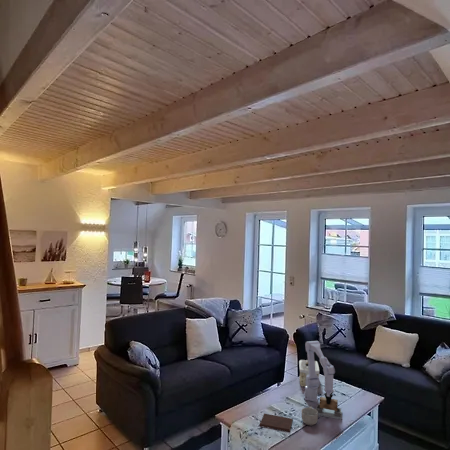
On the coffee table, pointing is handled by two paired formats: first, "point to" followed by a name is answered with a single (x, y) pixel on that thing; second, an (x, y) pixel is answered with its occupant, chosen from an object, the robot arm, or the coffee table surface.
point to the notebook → (276, 422)
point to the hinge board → (329, 412)
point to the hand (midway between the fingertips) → (328, 402)
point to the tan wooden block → (331, 406)
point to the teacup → (309, 416)
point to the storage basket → (306, 371)
